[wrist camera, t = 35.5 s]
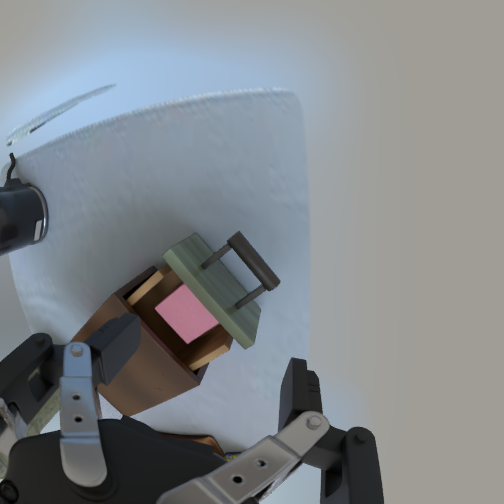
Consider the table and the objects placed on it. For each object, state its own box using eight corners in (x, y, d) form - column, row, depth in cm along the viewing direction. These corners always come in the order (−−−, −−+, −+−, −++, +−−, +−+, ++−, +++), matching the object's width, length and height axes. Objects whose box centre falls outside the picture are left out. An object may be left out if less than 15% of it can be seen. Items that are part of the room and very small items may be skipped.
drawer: (230, 203, 28) (211, 210, 21) (296, 284, 30) (299, 316, 23) (123, 299, 33) (92, 324, 26) (179, 361, 34) (160, 395, 27)
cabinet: (153, 265, 32) (113, 293, 23) (219, 339, 34) (200, 385, 25) (96, 321, 36) (61, 351, 27) (150, 380, 38) (126, 418, 29)
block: (172, 289, 30) (154, 308, 26) (202, 264, 29) (186, 281, 24) (200, 321, 31) (187, 344, 26) (231, 299, 30) (222, 321, 25)
